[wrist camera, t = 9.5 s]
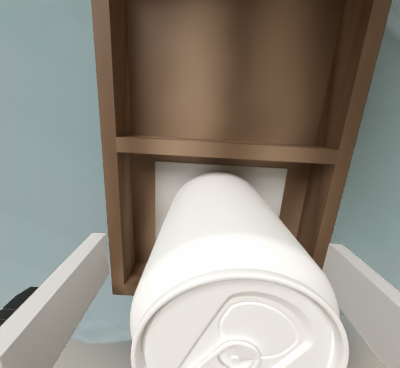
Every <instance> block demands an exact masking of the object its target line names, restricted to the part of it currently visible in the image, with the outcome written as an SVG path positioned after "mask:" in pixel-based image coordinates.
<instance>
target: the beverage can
mask: <svg viewBox="0 0 400 368" xmlns="http://www.w3.org/2000/svg"><path fill="white" fill-rule="evenodd" d="M130 330H131V337H132V347H131V365H132V368H347V365H348V359H349V344H348V339H347V335H346V332H345V329H344V327H343V325H342V322H341V321H340V315H339V308H338V303H337V299H336V296H335V293H334V291H333V288H332V286H331V284H330V282H329V280H328V279H327V277H326V275H325V274H324V273H323V271H322V270H321V269H320V267H319V266H318V265H317V264H316V262H315V261H314V260H313V259H312V258H311V256H310V255H309V254H308V253H307V252H306V250H305V249H304V248H303V247H302V245H301V244H300V243H299V242H298V241H297V239H296V238H295V237H294V236H293V235H292V233H291V232H290V231H289V230H288V229H287V227H286V226H285V225H284V224H283V223H282V221H281V220H280V219H279V218H278V216H277V215H276V214H275V213H274V212H273V210H272V209H271V208H270V207H269V206H268V204H267V203H266V202H265V201H264V200H263V198H262V197H261V196H260V195H259V193H258V192H257V191H256V190H255V189H254V188H253V187H252V186H251V185H250V184H249V183H248V182H247V181H245V180H244V179H242V178H240V177H238V176H236V175H233V174H229V173H223V172H212V173H206V174H202V175H199V176H197V177H195V178H193V179H191V180H190V181H188V182H187V183H185V184H184V185H183V186H182V187H181V188H180V189H179V191H178V192H177V193H176V195H175V197H174V199H173V201H172V203H171V206H170V208H169V210H168V213H167V215H166V218H165V220H164V223H163V225H162V228H161V230H160V232H159V235H158V237H157V240H156V242H155V245H154V247H153V250H152V252H151V254H150V257H149V259H148V262H147V264H146V267H145V269H144V272H143V274H142V276H141V279H140V281H139V284H138V286H137V289H136V291H135V294H134V297H133V301H132V305H131V312H130Z"/></svg>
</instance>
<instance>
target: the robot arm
mask: <svg viewBox="0 0 400 368" xmlns="http://www.w3.org/2000/svg"><path fill="white" fill-rule="evenodd" d="M322 271H323V273H324V274H325V275H326V277H327V279H328V280H329V282H330V284H331V286H332V288H333V291H334V293H335V296H336V299H337V303H338V307H339V308H340V310H341V311H342V312H343V314H344V315H345V316H346V317H347V319H348V320H349V321H350V323H351V324H352V325H353V327H354V328H355V329H356V330H357V332H358V333H359V334H360V336H361V337H362V338H363V339H364V341H365V342H366V343H367V345H368V346H369V347H370V349H371V350H372V351H373V352H374V354H375V355H376V356H377V358H378V359H379V360H380V362H381V363H382V364H383V365H384V367H385V368H400V292H399V291H398V290H397V289H395V288H394V287H393V286H392V285H391V284H389V283H388V282H387V281H386V280H385V279H383V278H382V277H381V276H380V275H379V274H377V273H376V272H375V271H374V270H373V269H371V268H370V267H369V266H368V265H367V264H365V263H364V262H363V261H362V260H360V259H359V258H358V257H357V256H356V255H354V254H353V253H352V252H351V251H350V250H348V249H347V248H346V247H345V246H344V245H342V244H329V246H328V250H327V254H326V258H325V262H324V266H323V269H322ZM108 274H109V268H108V255H107V242H106V233H92V234H91V235H90V236H89V237H88V238H87V239H86V240H85V241H84V242H83V243H82V244H81V245H80V246H79V247H78V248H77V249H76V250H75V251H74V252H73V253H72V254H71V255H70V256H69V257H68V258H67V259H66V260H65V261H64V262H63V263H62V264H61V265H60V266H59V267H58V268H57V269H56V270H55V271H54V272H53V273H52V274H51V275H50V277H49V278H48V279H47V280H46V281H45V282H44V283H43V284H42V285H41V286H40V287H30V288H28V289H26V290H25V291H23V292H22V293H20V294H18V295H17V296H15V297H14V298H13V299H12V300H11V301H10V302H9V303H8V304H7V305H6V306H5V307H4V308H3V310H0V368H52V367H53V366H54V364H55V362H56V361H57V359H58V357H59V356H60V354H61V352H62V351H63V349H64V347H65V346H66V344H67V342H68V341H69V339H70V337H71V336H72V334H73V332H74V331H75V329H76V327H77V326H78V324H79V322H80V321H81V319H82V317H83V316H84V314H85V312H86V311H87V309H88V307H89V306H90V304H91V303H92V301H93V299H94V298H95V296H96V294H97V293H98V291H99V289H100V288H101V286H102V284H103V283H104V281H105V279H106V278H107V276H108Z"/></svg>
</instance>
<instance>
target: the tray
mask: <svg viewBox="0 0 400 368" xmlns="http://www.w3.org/2000/svg"><path fill="white" fill-rule="evenodd" d="M391 2H392V0H91V3H92V17H93V31H94V45H95V58H96V72H97V86H98V99H99V113H100V127H101V141H102V154H103V168H104V182H105V195H106V209H107V223H108V237H109V250H110V264H111V278H112V291H113V294H116V295H134V294H135V291H136V289H137V286H138V284H139V281H140V279H141V276H142V274H143V272H144V269H145V267H146V264H147V262H148V259H149V257H150V254H151V252H152V250H153V247H154V245H155V242H156V240H157V237H158V235H159V232H160V230H161V228H162V225H163V223H164V220H165V218H166V215H167V213H168V210H169V208H170V206H171V203H172V201H173V199H174V197H175V195H176V193H177V192H178V191H179V189H180V188H181V187H182V186H183V185H184V184H185V183H187V182H188V181H190V180H191V179H193V178H195V177H197V176H199V175H202V174H206V173H212V172H223V173H229V174H233V175H236V176H238V177H240V178H242V179H244V180H245V181H247V182H248V183H249V184H250V185H251V186H252V187H253V188H254V189H255V190H256V191H257V192H258V193H259V195H260V196H261V197H262V198H263V200H264V201H265V202H266V203H267V204H268V206H269V207H270V208H271V209H272V210H273V212H274V213H275V214H276V215H277V216H278V218H279V219H280V220H281V221H282V223H283V224H284V225H285V226H286V227H287V229H288V230H289V231H290V232H291V233H292V235H293V236H294V237H295V238H296V239H297V241H298V242H299V243H300V244H301V245H302V247H303V248H304V249H305V250H306V252H307V253H308V254H309V255H310V256H311V258H312V259H313V260H314V261H315V262H316V264H317V265H318V266H319V267H320V269H321V270H322V269H323V266H324V262H325V258H326V254H327V250H328V246H329V244H330V240H331V237H332V233H333V229H334V225H335V221H336V217H337V213H338V209H339V205H340V201H341V197H342V193H343V190H344V186H345V182H346V178H347V174H348V170H349V166H350V162H351V158H352V154H353V150H354V147H355V143H356V139H357V135H358V131H359V127H360V123H361V119H362V115H363V111H364V107H365V103H366V100H367V96H368V92H369V88H370V84H371V80H372V76H373V72H374V68H375V64H376V60H377V56H378V53H379V49H380V45H381V41H382V37H383V33H384V29H385V25H386V21H387V17H388V13H389V10H390V6H391Z"/></svg>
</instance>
